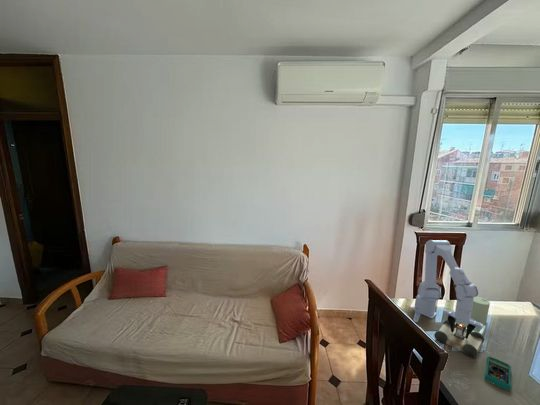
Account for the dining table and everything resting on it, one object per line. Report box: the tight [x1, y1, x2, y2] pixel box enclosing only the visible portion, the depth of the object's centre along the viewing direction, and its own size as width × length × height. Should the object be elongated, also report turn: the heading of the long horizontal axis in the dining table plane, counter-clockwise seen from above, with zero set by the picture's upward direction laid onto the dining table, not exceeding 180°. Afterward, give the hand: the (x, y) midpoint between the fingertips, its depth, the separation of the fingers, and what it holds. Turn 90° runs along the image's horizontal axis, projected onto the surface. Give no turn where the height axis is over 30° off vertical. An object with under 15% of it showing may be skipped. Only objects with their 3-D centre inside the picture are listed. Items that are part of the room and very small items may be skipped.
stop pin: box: [455, 323, 466, 340], centre depth 114 cm, size 4×4×9 cm
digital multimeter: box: [484, 355, 512, 392], centre depth 97 cm, size 7×15×3 cm, turn 135°
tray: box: [455, 319, 487, 336], centre depth 123 cm, size 13×11×4 cm
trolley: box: [433, 319, 485, 359], centre depth 114 cm, size 16×15×5 cm
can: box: [470, 295, 491, 325], centre depth 132 cm, size 9×9×12 cm
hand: (459, 334), depth 114 cm, fingers open, 5 cm apart
